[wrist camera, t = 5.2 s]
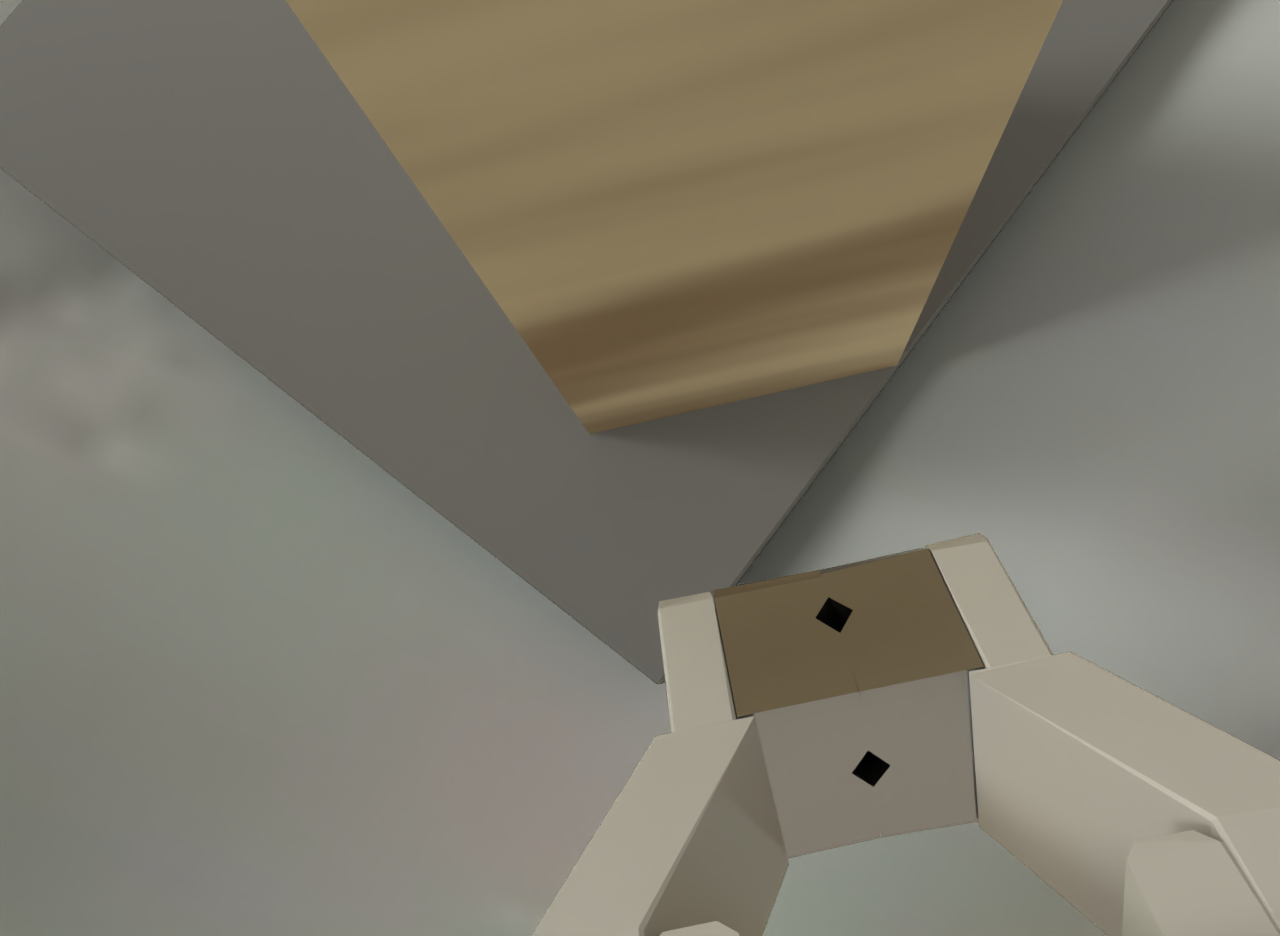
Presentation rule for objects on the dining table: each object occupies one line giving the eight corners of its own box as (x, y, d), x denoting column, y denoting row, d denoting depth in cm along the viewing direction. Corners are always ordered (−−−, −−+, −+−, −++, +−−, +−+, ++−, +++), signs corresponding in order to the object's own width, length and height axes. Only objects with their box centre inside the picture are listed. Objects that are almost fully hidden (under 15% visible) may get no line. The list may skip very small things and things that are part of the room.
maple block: (897, 365, 17) (1213, -331, 5) (589, 434, 17) (234, -72, 6) (823, 85, 18) (949, -1023, 6) (534, 154, 18) (135, -773, 7)
